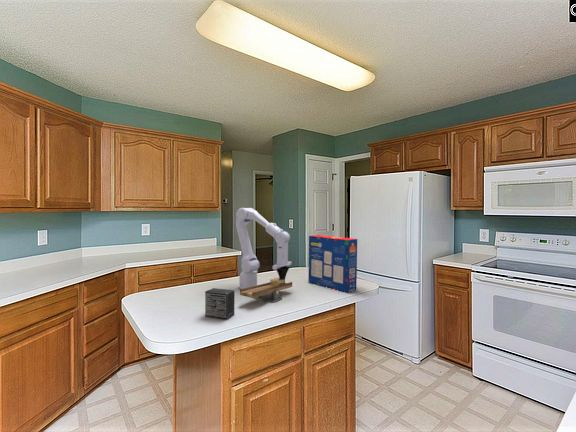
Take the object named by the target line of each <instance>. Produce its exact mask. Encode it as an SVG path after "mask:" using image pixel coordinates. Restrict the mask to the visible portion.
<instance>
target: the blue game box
mask: <svg viewBox="0 0 576 432" xmlns="http://www.w3.org/2000/svg"><path fill="white" fill-rule="evenodd" d="M357 269H358V238H350V237H341V236H332V235H330V236H329V235H323V234H316V235H315V234H314V235H308V282H307V283H308V284H311V285H314V284H315V285H316V286H318V287H322V288H326V287H327V288H326V289H329V288H330V290H333V289H334V291H337V290H338V292H341V293H344V292H345V293H344V294H350V293H352V291H353V292H356V291H357V284H358V283H357V281H358V280H357V278H358V277H357V276H358V274H357V273H358V272H357V271H358V270H357ZM355 290H356V291H355Z"/></svg>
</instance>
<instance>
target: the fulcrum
mask: <svg viewBox="0 0 576 432" xmlns="http://www.w3.org/2000/svg"><path fill="white" fill-rule="evenodd" d="M253 299H255V300H258V301H262V302H268V303H270V304H274V303H277V302H279V301H281V300H282V299H283V297H282V296H280V291H279V290H274V291H273V293H269V294H266V295H263V296H259V297H256V298H253Z"/></svg>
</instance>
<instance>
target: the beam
mask: <svg viewBox="0 0 576 432" xmlns="http://www.w3.org/2000/svg"><path fill="white" fill-rule="evenodd" d="M292 287H293V281H290V282H285V284H282V285H278V286H271V285H270V281H269V282H265V283H261V284H257V285H256V286H252V287H248V288H244V289H240V288H239V296H242V297H246V298H251V299H254V298H256V297H259V296H263V295H266V294H269V293H273V291H274V290H279V292H280V291H283V290H287V289H290V288H292Z"/></svg>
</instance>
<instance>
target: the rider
mask: <svg viewBox="0 0 576 432" xmlns="http://www.w3.org/2000/svg"><path fill="white" fill-rule="evenodd" d="M269 282H270V285H271V286H278V285H282V284H285V283H286V278H285V279H282V278H279V277H274V278H270V280H269Z"/></svg>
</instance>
